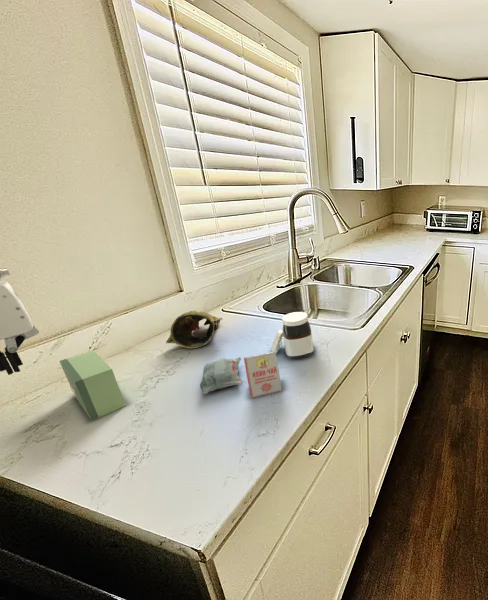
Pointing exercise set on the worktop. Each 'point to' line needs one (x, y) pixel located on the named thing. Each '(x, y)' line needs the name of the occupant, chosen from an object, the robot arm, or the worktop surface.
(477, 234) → the worktop surface
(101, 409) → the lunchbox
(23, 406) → the worktop surface
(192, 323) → the pot
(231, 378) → the packaged food
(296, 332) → the spread jar
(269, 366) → the cream red carton
